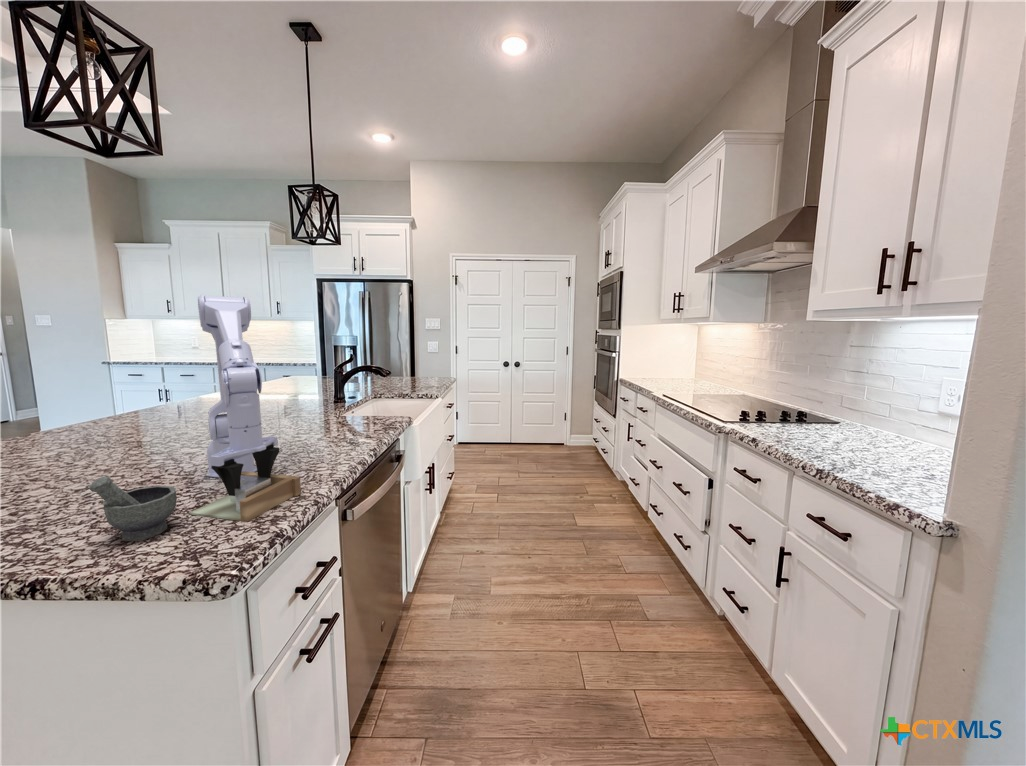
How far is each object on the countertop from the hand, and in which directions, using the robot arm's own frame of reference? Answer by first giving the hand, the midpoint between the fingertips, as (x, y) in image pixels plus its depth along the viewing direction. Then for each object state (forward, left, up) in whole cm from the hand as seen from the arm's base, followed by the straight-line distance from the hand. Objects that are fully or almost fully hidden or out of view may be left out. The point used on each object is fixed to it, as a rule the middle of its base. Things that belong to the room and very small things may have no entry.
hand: (249, 487), depth 84 cm
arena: (-1, 0, -3) cm, 3 cm away
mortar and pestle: (-9, -15, -4) cm, 18 cm away
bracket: (0, -2, -3) cm, 4 cm away
